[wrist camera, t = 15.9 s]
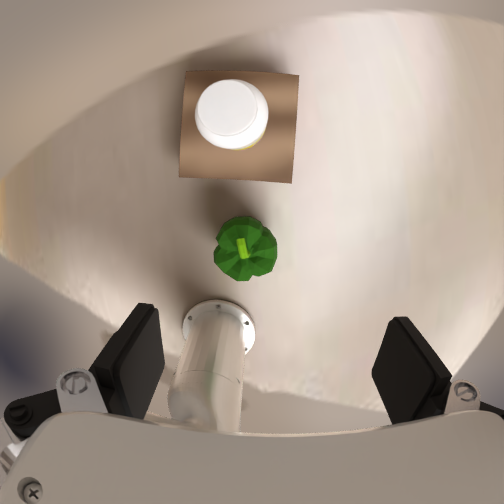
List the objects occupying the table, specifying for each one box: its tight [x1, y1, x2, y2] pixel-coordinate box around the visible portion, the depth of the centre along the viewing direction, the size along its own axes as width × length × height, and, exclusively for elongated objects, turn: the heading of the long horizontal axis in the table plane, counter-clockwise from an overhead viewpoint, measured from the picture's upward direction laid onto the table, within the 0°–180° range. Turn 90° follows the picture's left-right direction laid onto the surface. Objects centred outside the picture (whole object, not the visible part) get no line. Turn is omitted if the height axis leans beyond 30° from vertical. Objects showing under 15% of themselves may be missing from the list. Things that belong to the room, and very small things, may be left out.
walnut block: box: [179, 71, 299, 184], centre depth 35 cm, size 14×14×6 cm
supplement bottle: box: [195, 79, 268, 150], centre depth 26 cm, size 7×7×13 cm
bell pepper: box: [214, 216, 277, 281], centre depth 38 cm, size 8×8×10 cm
